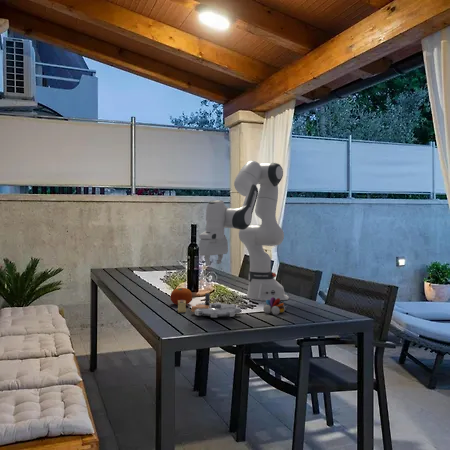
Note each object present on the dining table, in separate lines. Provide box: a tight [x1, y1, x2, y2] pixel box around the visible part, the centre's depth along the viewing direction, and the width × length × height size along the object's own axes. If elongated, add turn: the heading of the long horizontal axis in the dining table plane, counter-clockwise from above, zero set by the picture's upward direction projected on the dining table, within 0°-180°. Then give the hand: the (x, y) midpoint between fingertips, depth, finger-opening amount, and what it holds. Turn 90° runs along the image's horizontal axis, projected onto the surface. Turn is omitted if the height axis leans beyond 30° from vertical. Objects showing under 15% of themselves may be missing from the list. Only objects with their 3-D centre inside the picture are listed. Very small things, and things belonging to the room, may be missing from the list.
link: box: [177, 300, 187, 313], centre depth 219 cm, size 4×6×5 cm, turn 6°
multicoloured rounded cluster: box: [263, 297, 286, 316], centre depth 219 cm, size 8×10×7 cm
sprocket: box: [191, 292, 241, 318], centre depth 212 cm, size 22×22×7 cm
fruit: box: [170, 287, 193, 306], centre depth 233 cm, size 11×10×8 cm
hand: (213, 264), depth 224 cm, fingers open, 8 cm apart
